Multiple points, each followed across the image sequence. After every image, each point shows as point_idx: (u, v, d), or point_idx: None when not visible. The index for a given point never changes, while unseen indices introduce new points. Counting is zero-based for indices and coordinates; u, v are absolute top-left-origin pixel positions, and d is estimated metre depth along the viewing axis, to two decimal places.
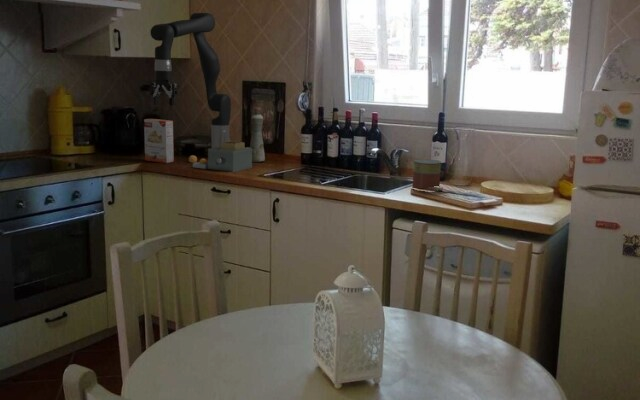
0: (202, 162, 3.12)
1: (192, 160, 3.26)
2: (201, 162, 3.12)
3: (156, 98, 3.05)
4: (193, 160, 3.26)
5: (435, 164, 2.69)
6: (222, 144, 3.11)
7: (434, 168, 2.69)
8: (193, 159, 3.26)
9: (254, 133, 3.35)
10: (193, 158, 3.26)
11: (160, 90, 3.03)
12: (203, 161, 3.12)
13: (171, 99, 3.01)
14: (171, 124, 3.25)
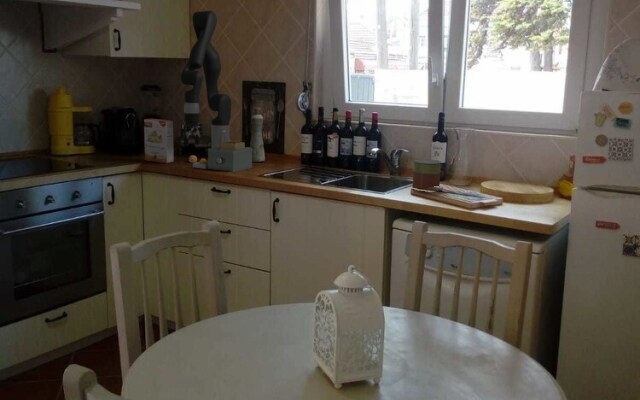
0: (202, 162, 3.12)
1: (192, 160, 3.26)
2: (201, 162, 3.12)
3: None
4: (193, 160, 3.26)
5: (435, 164, 2.69)
6: (222, 144, 3.11)
7: (434, 168, 2.69)
8: (193, 159, 3.26)
9: (254, 133, 3.35)
10: (193, 158, 3.26)
11: (192, 131, 3.23)
12: (203, 161, 3.12)
13: (199, 138, 3.29)
14: (171, 124, 3.25)
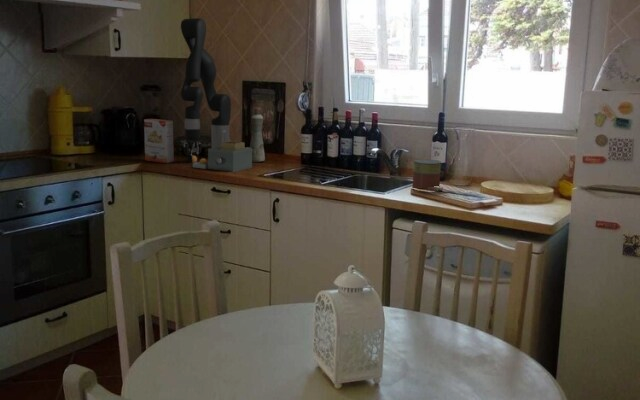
0: (202, 162, 3.12)
1: (192, 160, 3.26)
2: (201, 162, 3.12)
3: None
4: (193, 160, 3.26)
5: (435, 164, 2.69)
6: (222, 144, 3.11)
7: (434, 168, 2.69)
8: (193, 159, 3.26)
9: (254, 133, 3.35)
10: (193, 158, 3.26)
11: (194, 146, 3.25)
12: (203, 161, 3.12)
13: (197, 155, 3.29)
14: (171, 124, 3.25)
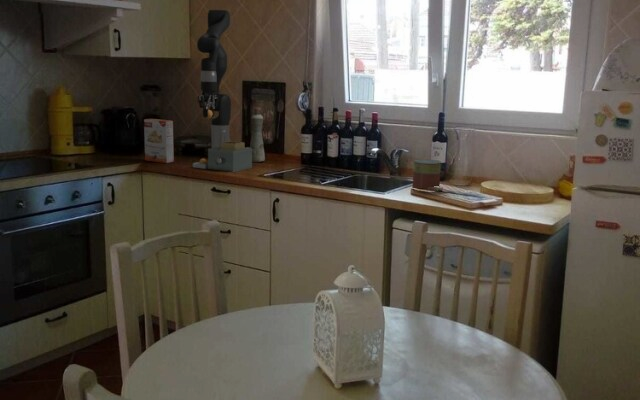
0: (202, 162, 3.12)
1: None
2: (201, 162, 3.12)
3: None
4: (208, 114, 3.15)
5: (435, 164, 2.69)
6: (222, 144, 3.11)
7: (434, 168, 2.69)
8: (208, 113, 3.15)
9: (254, 133, 3.35)
10: (208, 112, 3.15)
11: (210, 100, 3.15)
12: (203, 161, 3.12)
13: (213, 110, 3.19)
14: (171, 124, 3.25)
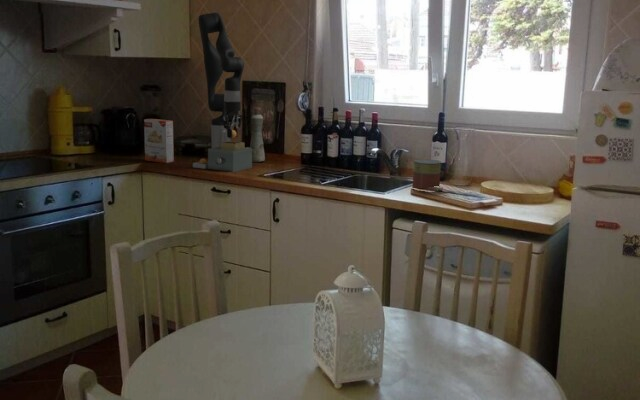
0: (202, 162, 3.12)
1: None
2: (201, 162, 3.12)
3: None
4: (233, 135, 3.10)
5: (435, 164, 2.69)
6: (222, 144, 3.11)
7: (434, 168, 2.69)
8: (233, 134, 3.10)
9: (254, 133, 3.35)
10: (233, 132, 3.10)
11: (234, 120, 3.10)
12: (203, 161, 3.12)
13: (237, 130, 3.14)
14: (171, 124, 3.25)
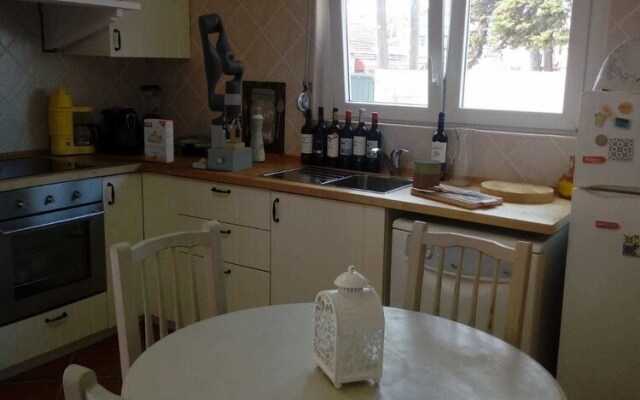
0: (202, 162, 3.12)
1: None
2: (201, 162, 3.12)
3: None
4: None
5: (435, 164, 2.69)
6: (222, 144, 3.11)
7: (434, 168, 2.69)
8: None
9: (254, 133, 3.35)
10: None
11: (233, 123, 3.10)
12: (203, 161, 3.12)
13: (239, 131, 3.16)
14: (171, 124, 3.25)
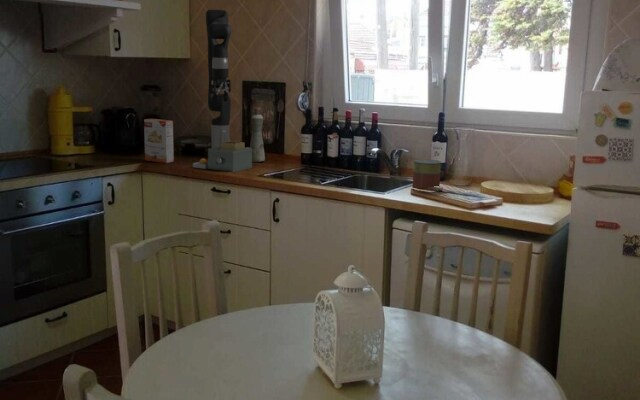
0: (202, 162, 3.12)
1: None
2: (201, 162, 3.12)
3: None
4: None
5: (435, 164, 2.69)
6: (222, 144, 3.11)
7: (434, 168, 2.69)
8: None
9: (254, 133, 3.35)
10: None
11: (221, 87, 3.11)
12: (203, 161, 3.12)
13: (227, 95, 3.17)
14: (171, 124, 3.25)
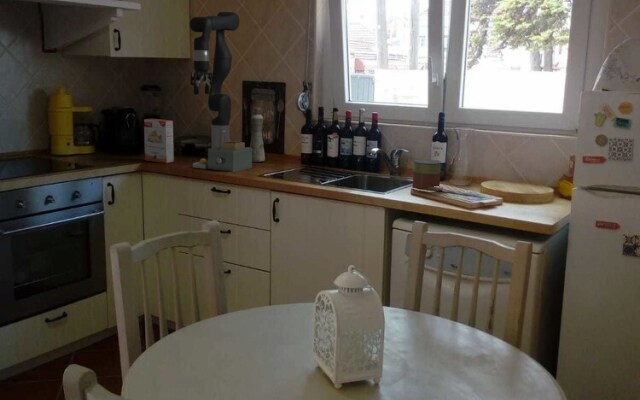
0: (202, 162, 3.12)
1: None
2: (201, 162, 3.12)
3: None
4: None
5: (435, 164, 2.69)
6: (222, 144, 3.11)
7: (434, 168, 2.69)
8: None
9: (254, 133, 3.35)
10: None
11: (202, 79, 3.17)
12: (203, 161, 3.12)
13: None
14: (171, 124, 3.25)
